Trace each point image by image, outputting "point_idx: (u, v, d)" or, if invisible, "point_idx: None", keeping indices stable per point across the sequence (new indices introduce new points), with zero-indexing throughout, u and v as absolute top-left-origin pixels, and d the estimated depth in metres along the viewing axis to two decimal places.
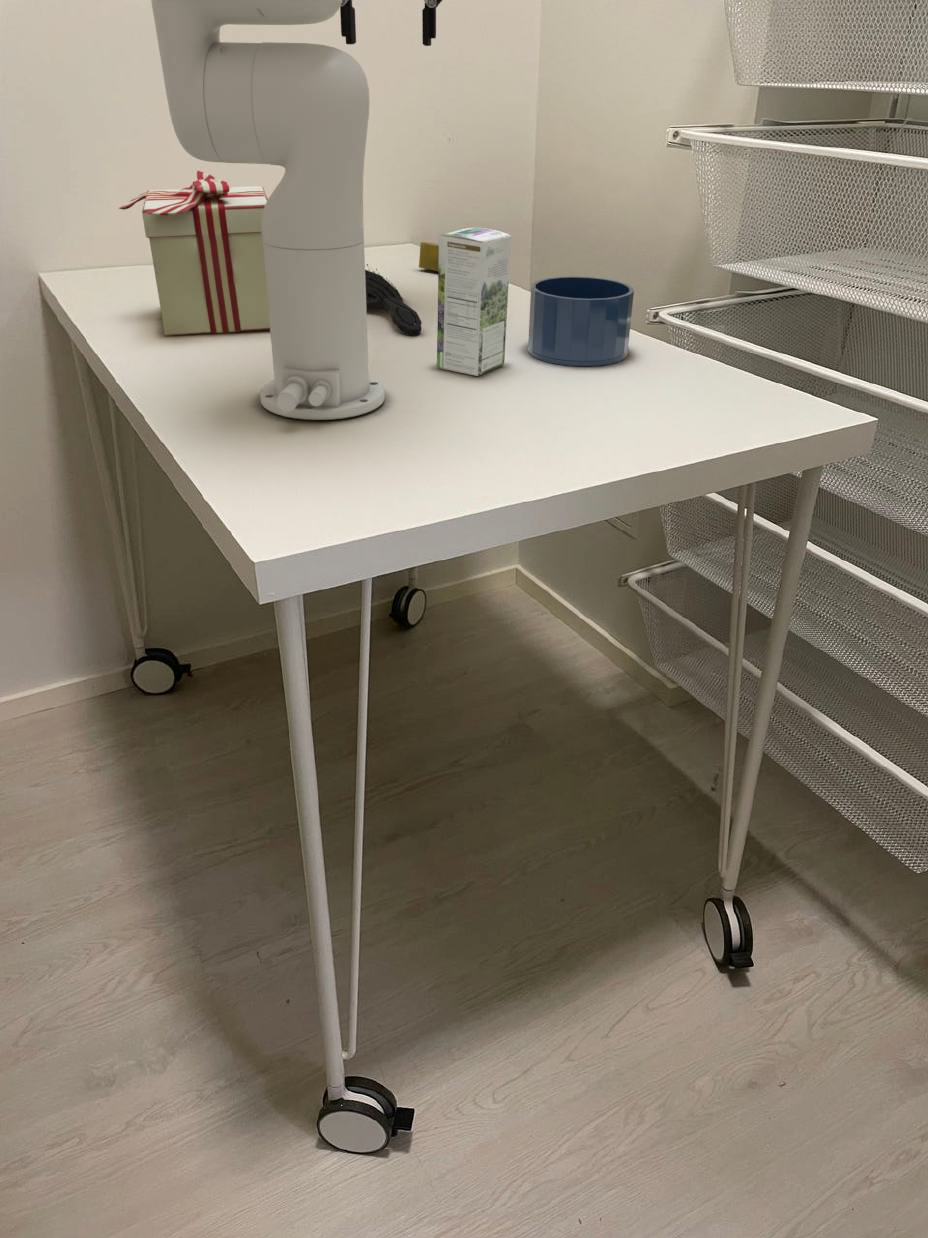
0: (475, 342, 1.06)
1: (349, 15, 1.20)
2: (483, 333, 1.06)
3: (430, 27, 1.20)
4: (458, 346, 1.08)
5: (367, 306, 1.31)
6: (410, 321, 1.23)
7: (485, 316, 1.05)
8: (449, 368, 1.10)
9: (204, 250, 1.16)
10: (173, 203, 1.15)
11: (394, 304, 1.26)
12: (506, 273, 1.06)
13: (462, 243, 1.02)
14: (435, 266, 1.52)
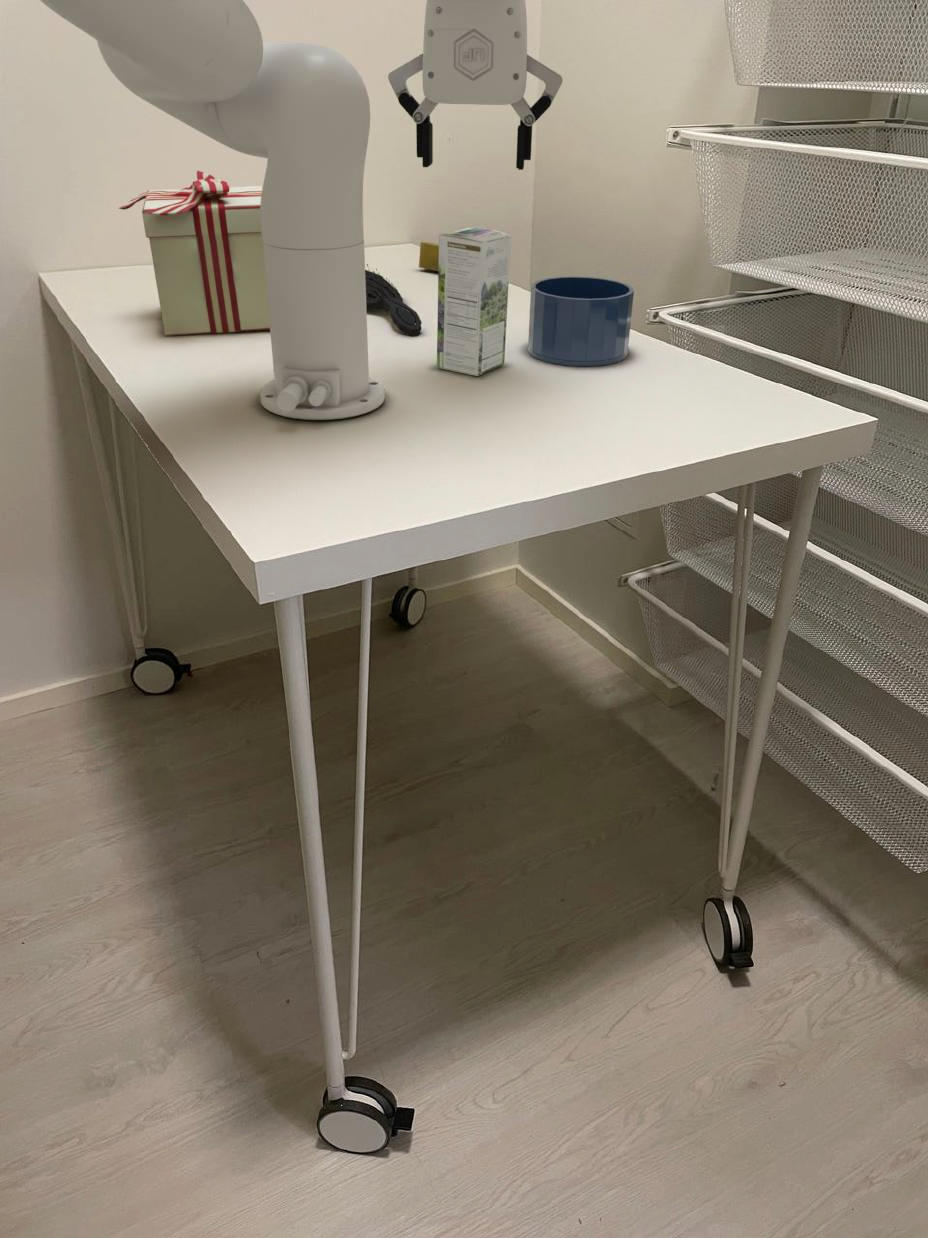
0: (475, 342, 1.06)
1: (428, 134, 0.99)
2: (483, 333, 1.06)
3: (526, 148, 0.99)
4: (458, 346, 1.08)
5: (367, 306, 1.31)
6: (410, 321, 1.23)
7: (485, 316, 1.05)
8: (449, 368, 1.10)
9: (204, 250, 1.16)
10: (173, 203, 1.15)
11: (394, 304, 1.26)
12: (506, 273, 1.06)
13: (462, 243, 1.02)
14: (435, 266, 1.52)
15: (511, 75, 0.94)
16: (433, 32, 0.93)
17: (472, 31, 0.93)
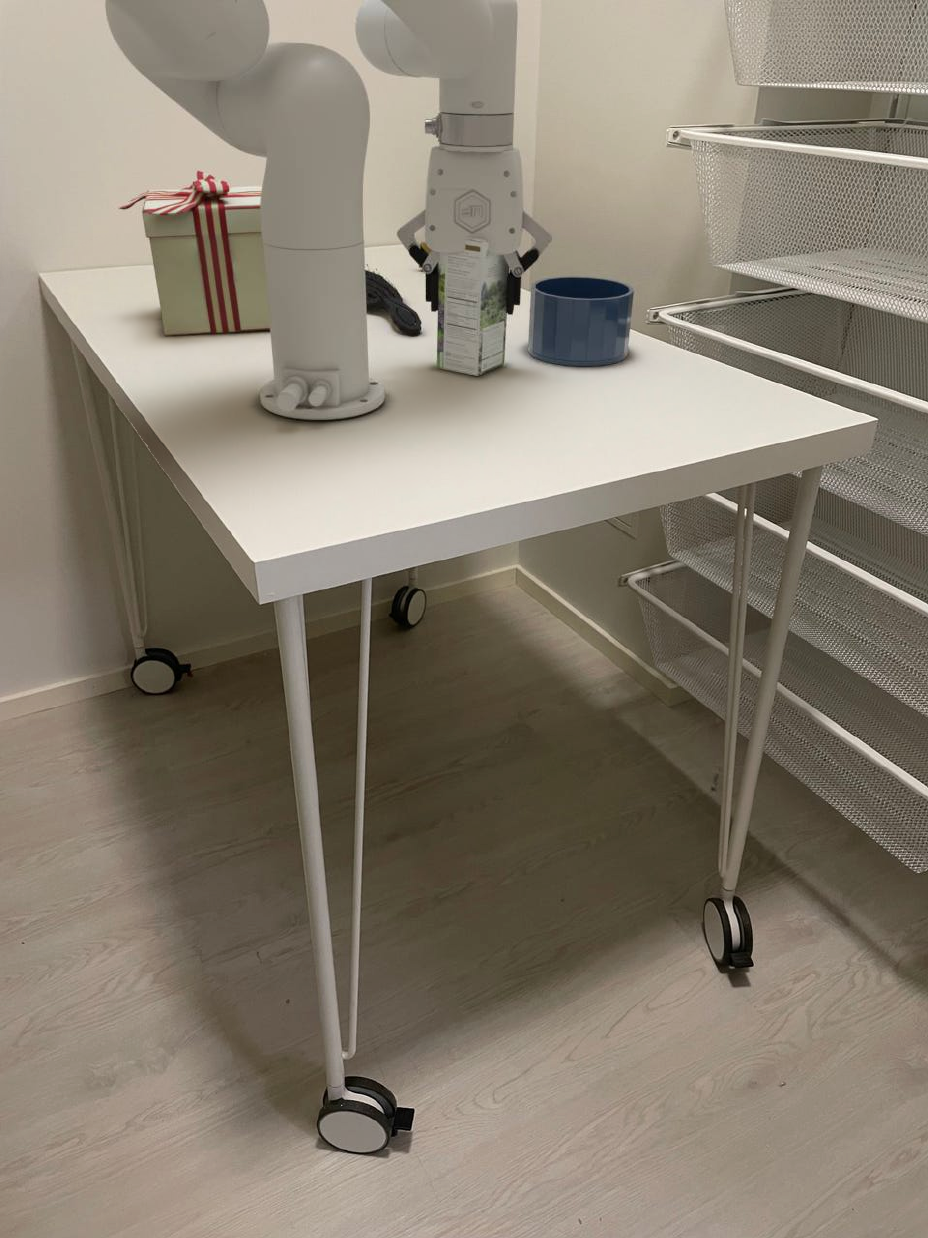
0: (475, 342, 1.06)
1: (436, 283, 1.05)
2: (483, 333, 1.06)
3: (515, 295, 1.06)
4: (458, 346, 1.08)
5: (367, 306, 1.31)
6: (410, 321, 1.23)
7: (485, 316, 1.05)
8: (449, 368, 1.10)
9: (204, 250, 1.16)
10: (173, 203, 1.15)
11: (394, 304, 1.26)
12: (506, 273, 1.06)
13: None
14: None
15: (507, 229, 1.01)
16: (434, 190, 1.00)
17: (471, 191, 0.99)
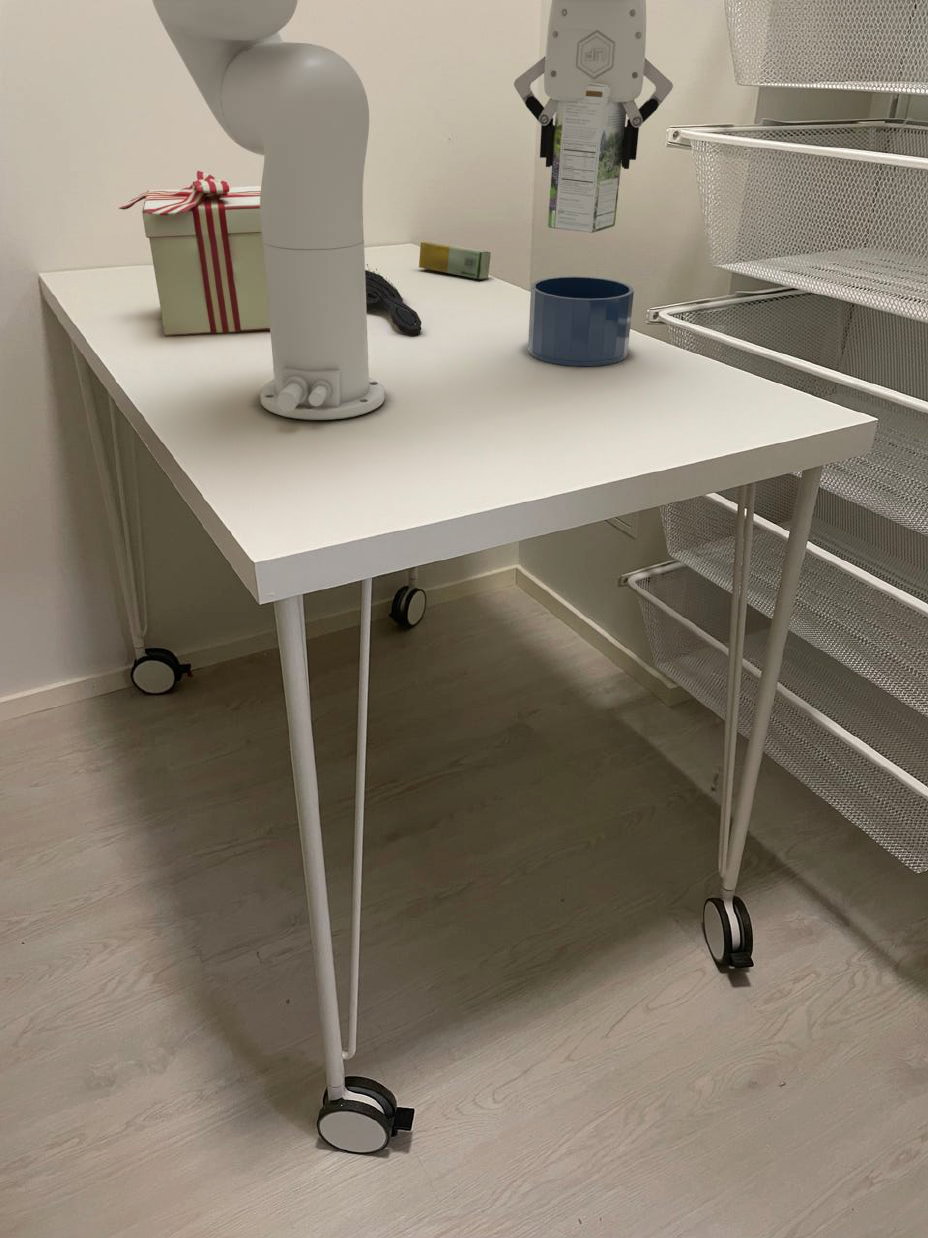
0: (591, 196, 1.05)
1: (552, 136, 1.04)
2: (599, 186, 1.04)
3: (632, 148, 1.04)
4: (572, 202, 1.06)
5: (367, 306, 1.31)
6: (410, 321, 1.23)
7: (602, 169, 1.04)
8: (561, 227, 1.08)
9: (204, 250, 1.16)
10: (173, 203, 1.15)
11: (394, 304, 1.26)
12: (622, 125, 1.04)
13: None
14: (435, 266, 1.52)
15: (630, 74, 0.99)
16: (557, 33, 0.98)
17: (595, 32, 0.97)
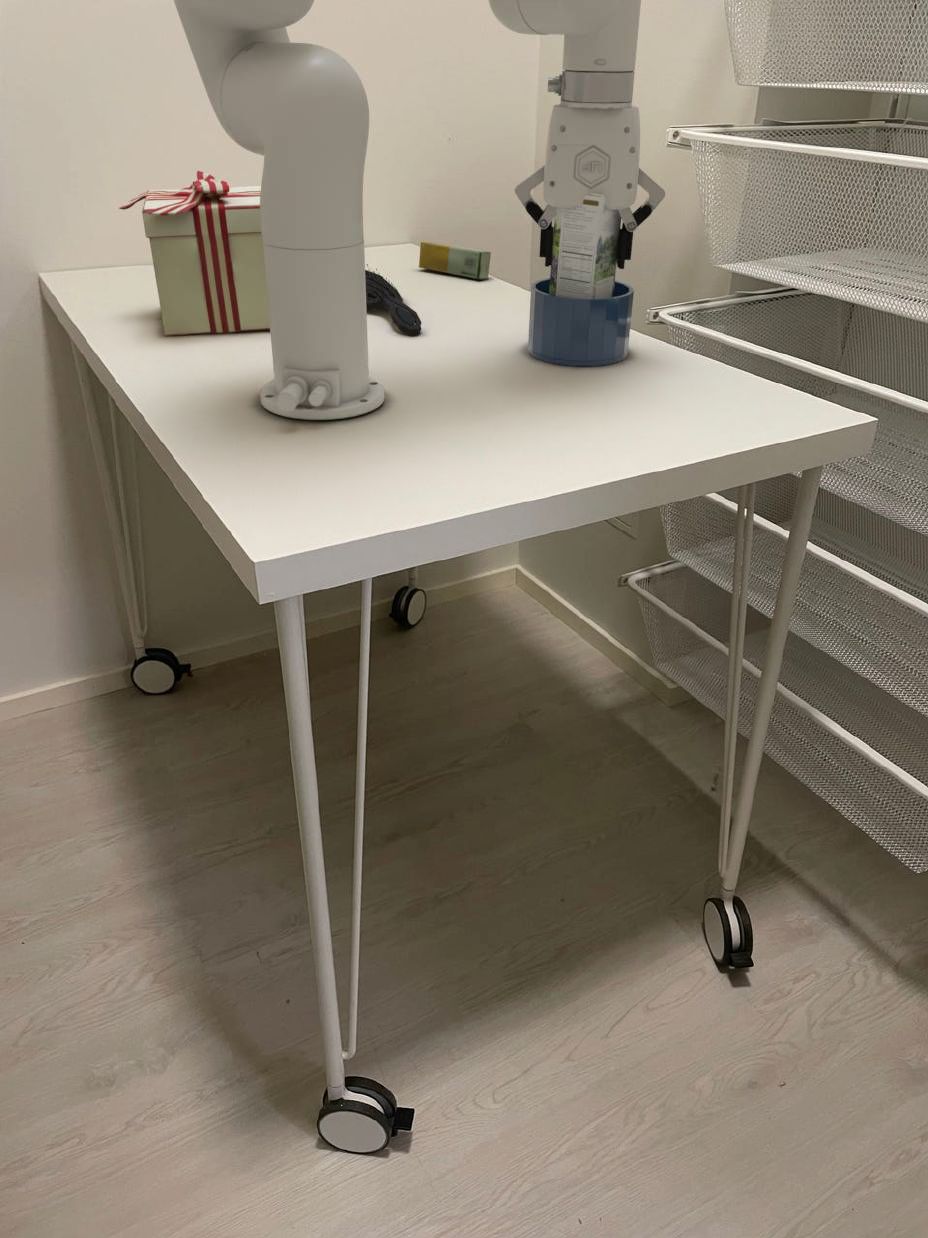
0: (588, 295, 1.10)
1: (551, 238, 1.09)
2: (596, 286, 1.10)
3: (627, 250, 1.10)
4: None
5: (367, 306, 1.31)
6: (410, 321, 1.23)
7: (599, 270, 1.09)
8: None
9: (204, 250, 1.16)
10: (173, 203, 1.15)
11: (394, 304, 1.26)
12: (618, 228, 1.10)
13: None
14: (435, 266, 1.52)
15: (625, 184, 1.05)
16: (556, 147, 1.04)
17: (591, 147, 1.03)
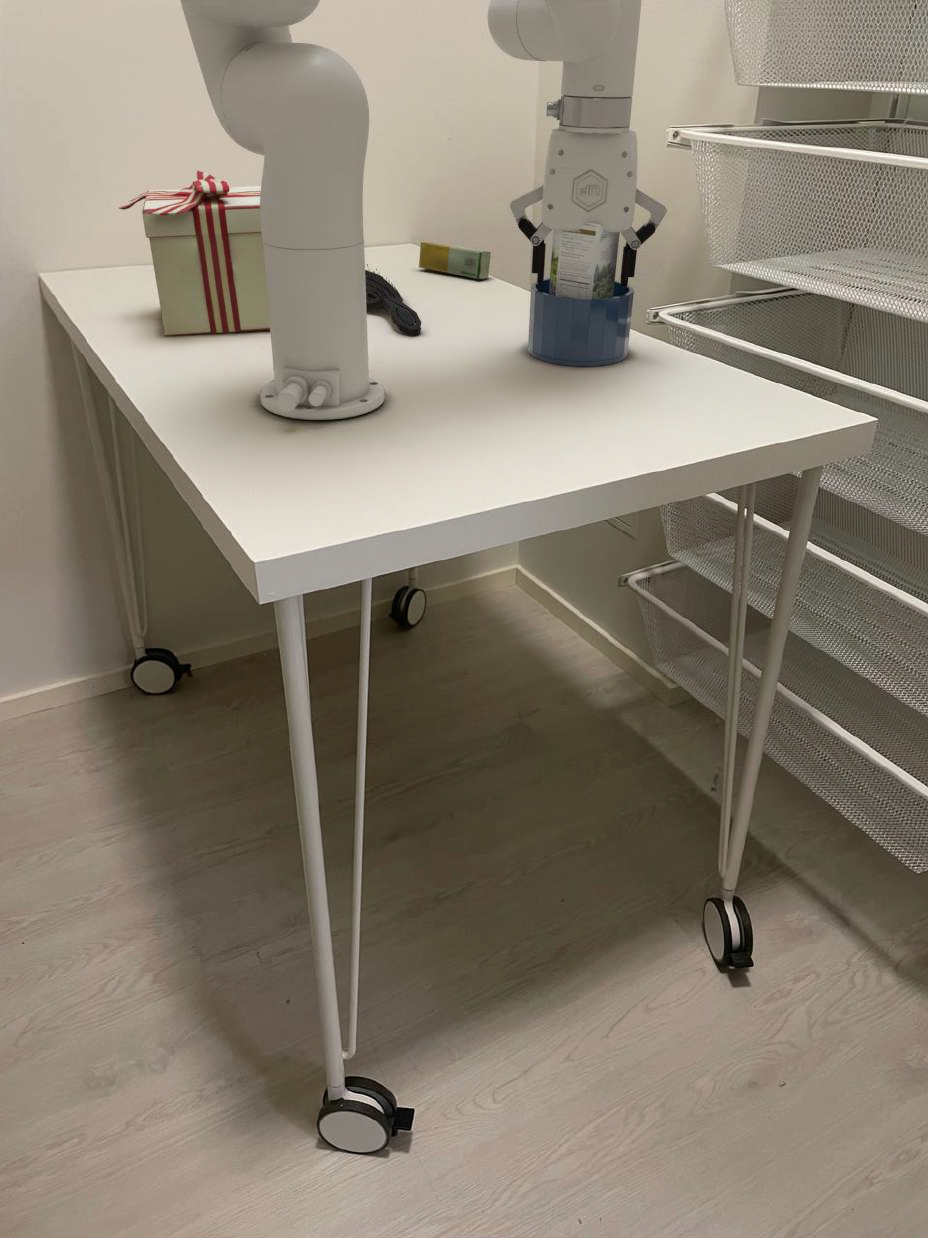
0: None
1: (543, 255, 1.10)
2: None
3: (630, 267, 1.11)
4: None
5: (367, 306, 1.31)
6: (410, 321, 1.23)
7: (596, 298, 1.11)
8: None
9: (204, 250, 1.16)
10: (173, 203, 1.15)
11: (394, 304, 1.26)
12: (615, 256, 1.12)
13: None
14: (435, 266, 1.52)
15: (622, 208, 1.06)
16: (554, 170, 1.05)
17: (589, 171, 1.04)
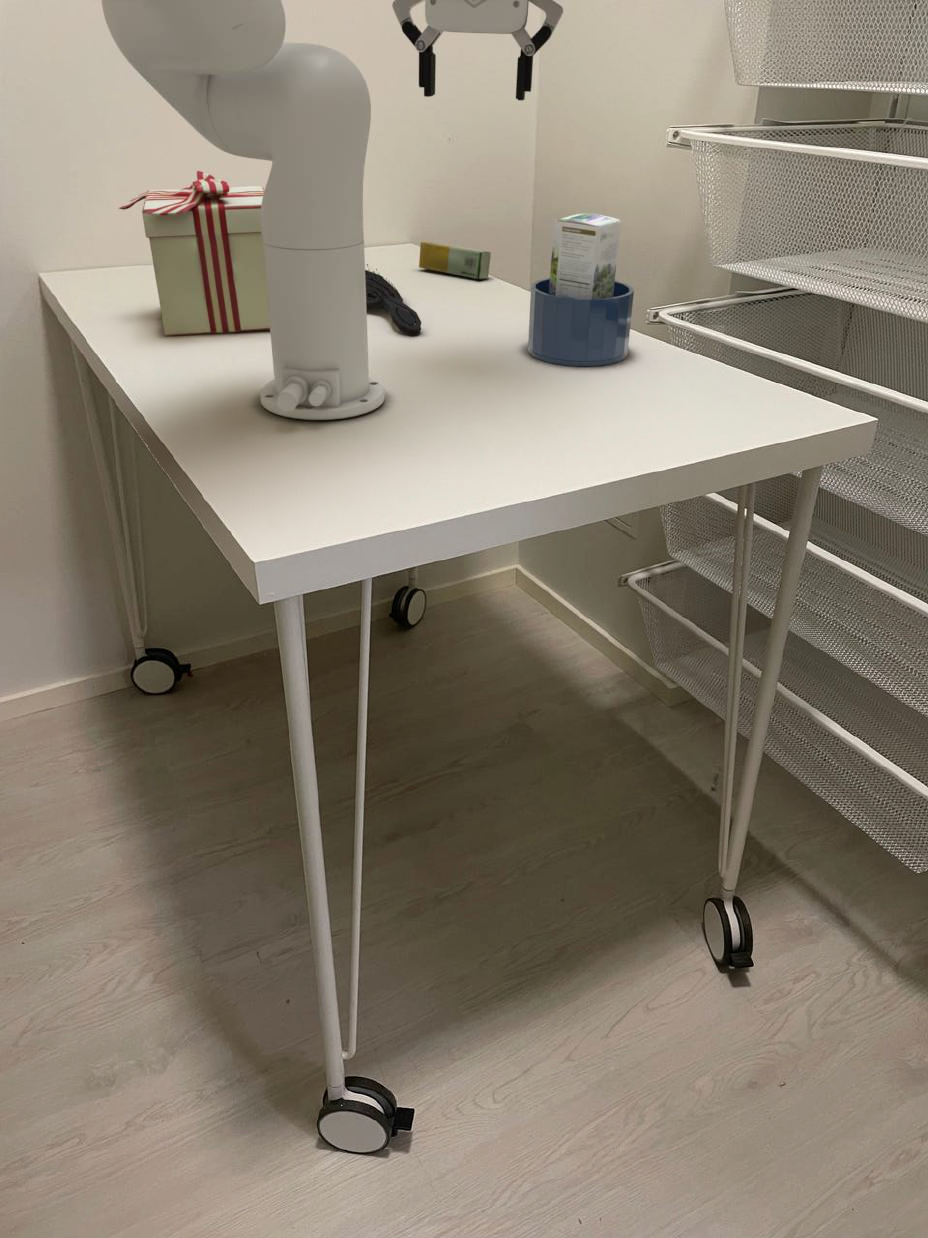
0: None
1: (429, 63, 1.00)
2: None
3: (526, 79, 1.01)
4: None
5: (367, 306, 1.31)
6: (410, 321, 1.23)
7: (596, 298, 1.11)
8: None
9: (204, 250, 1.16)
10: (173, 203, 1.15)
11: (394, 304, 1.26)
12: (615, 256, 1.12)
13: (577, 228, 1.07)
14: (435, 266, 1.52)
15: (511, 2, 0.96)
16: None
17: None
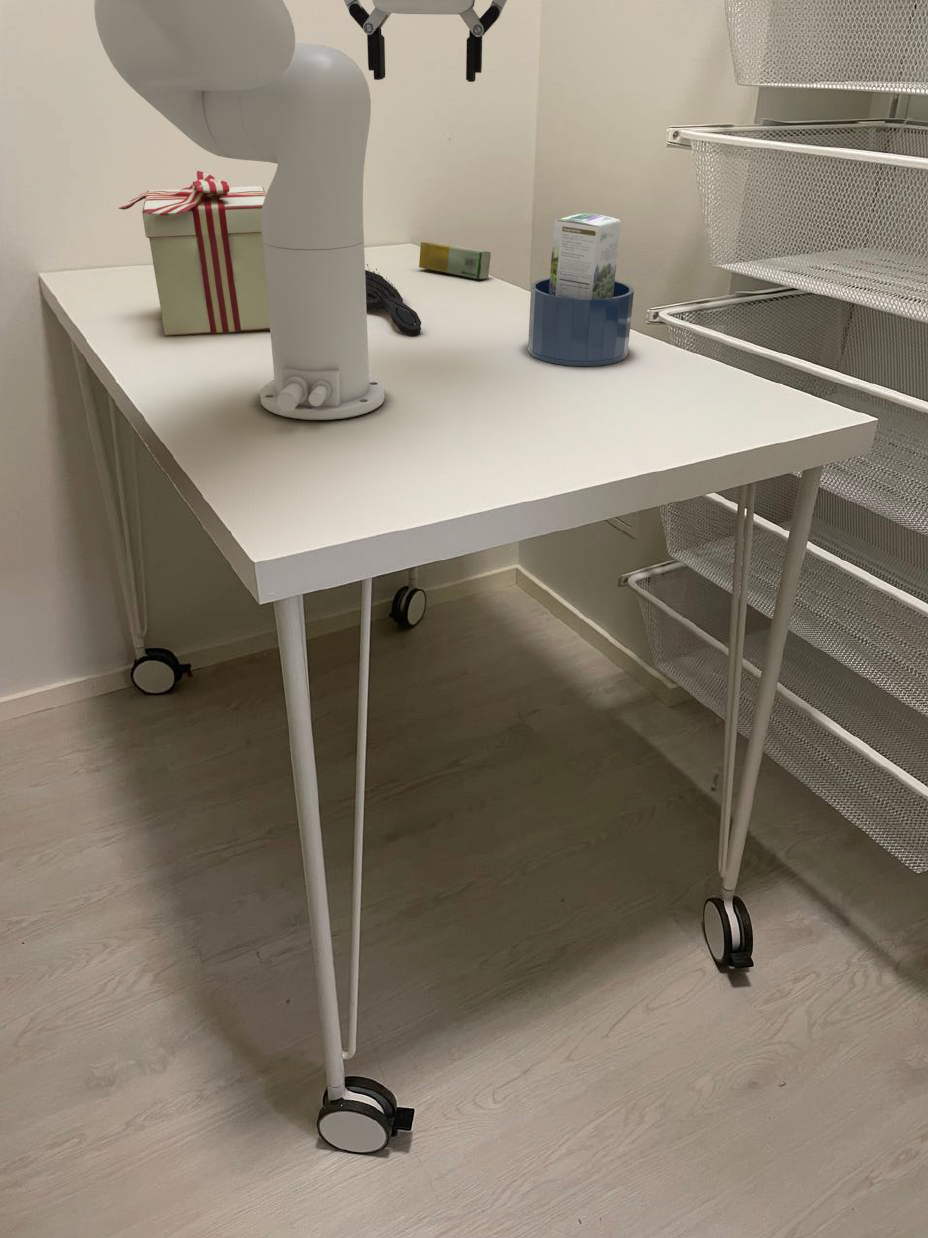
0: None
1: (378, 45, 1.00)
2: None
3: (475, 60, 1.00)
4: None
5: (367, 306, 1.31)
6: (410, 321, 1.23)
7: (596, 298, 1.11)
8: None
9: (204, 250, 1.16)
10: (173, 203, 1.15)
11: (394, 304, 1.26)
12: (615, 256, 1.12)
13: (577, 228, 1.07)
14: (435, 266, 1.52)
15: None
16: None
17: None
